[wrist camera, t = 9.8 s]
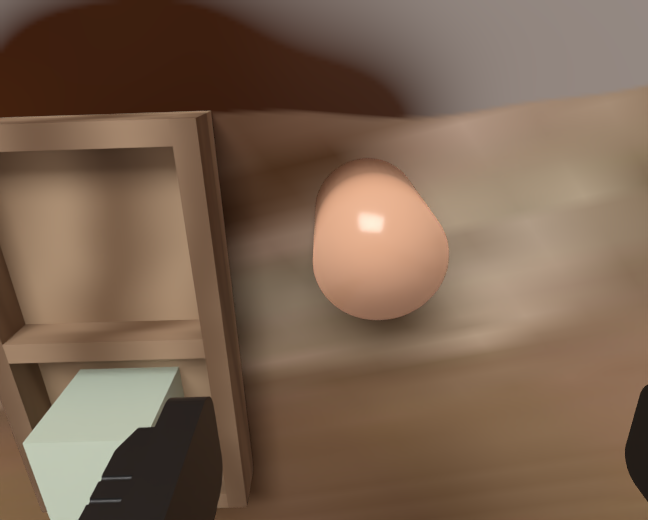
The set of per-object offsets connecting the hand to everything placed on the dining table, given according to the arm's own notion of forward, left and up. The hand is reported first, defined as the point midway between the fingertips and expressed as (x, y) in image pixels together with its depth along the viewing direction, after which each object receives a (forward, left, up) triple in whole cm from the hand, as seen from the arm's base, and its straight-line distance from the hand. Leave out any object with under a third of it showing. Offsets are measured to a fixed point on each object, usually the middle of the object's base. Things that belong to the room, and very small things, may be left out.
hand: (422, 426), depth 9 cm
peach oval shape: (0, 0, -14) cm, 14 cm away
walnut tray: (+12, +5, -14) cm, 19 cm away
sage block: (+12, +10, -13) cm, 20 cm away
